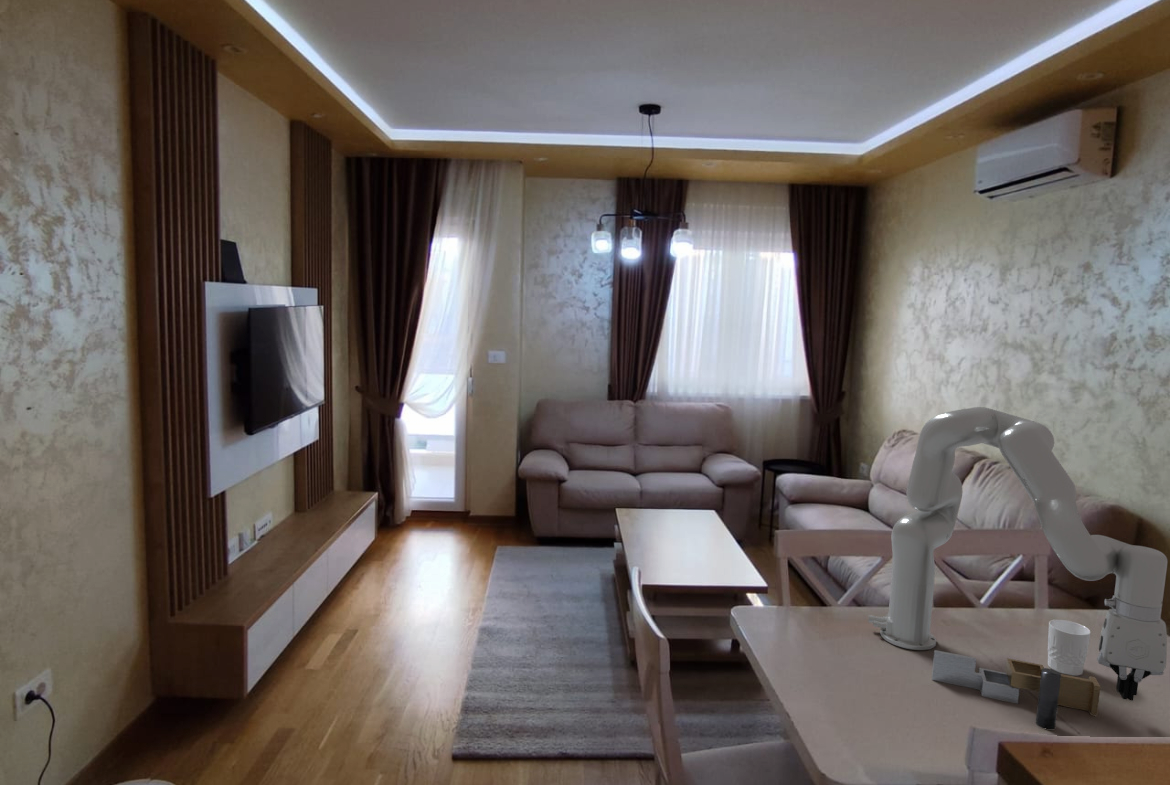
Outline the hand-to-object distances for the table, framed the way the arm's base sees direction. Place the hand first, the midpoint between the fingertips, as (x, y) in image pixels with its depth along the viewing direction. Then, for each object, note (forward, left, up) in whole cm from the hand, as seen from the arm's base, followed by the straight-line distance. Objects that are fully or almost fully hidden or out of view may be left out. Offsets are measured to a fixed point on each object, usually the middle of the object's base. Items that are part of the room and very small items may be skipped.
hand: (1125, 696), depth 142 cm
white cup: (-6, +19, -5) cm, 21 cm away
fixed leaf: (-27, 0, -5) cm, 27 cm away
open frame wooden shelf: (-13, 0, -4) cm, 13 cm away
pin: (-15, -10, -5) cm, 19 cm away
